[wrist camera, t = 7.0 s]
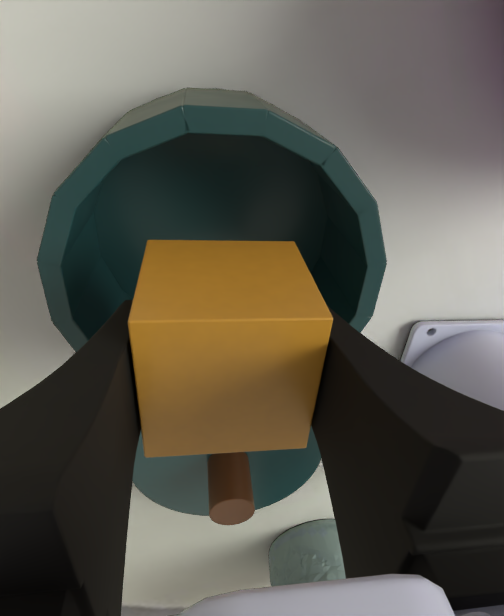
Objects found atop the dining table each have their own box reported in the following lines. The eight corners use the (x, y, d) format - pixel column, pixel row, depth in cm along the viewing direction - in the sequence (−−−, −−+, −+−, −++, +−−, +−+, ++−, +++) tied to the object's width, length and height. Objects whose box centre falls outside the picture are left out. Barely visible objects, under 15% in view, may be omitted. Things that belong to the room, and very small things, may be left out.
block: (294, 240, 12) (334, 318, 9) (279, 352, 15) (307, 449, 11) (147, 238, 12) (126, 321, 8) (156, 356, 14) (144, 458, 11)
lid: (334, 372, 24) (360, 433, 20) (305, 495, 31) (321, 557, 27) (118, 379, 22) (102, 447, 19) (138, 507, 29) (129, 576, 25)
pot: (361, 97, 16) (427, 118, 11) (317, 330, 22) (348, 404, 18) (56, 78, 14) (-7, 93, 10) (100, 335, 21) (74, 416, 16)
